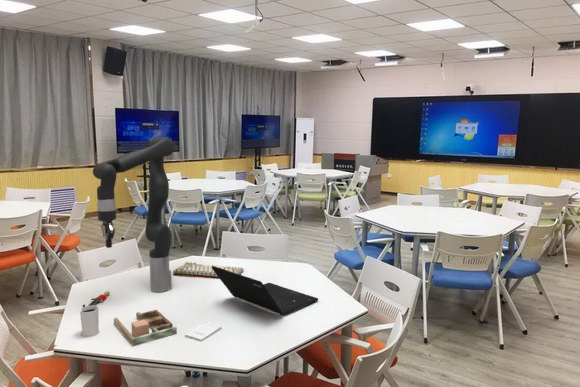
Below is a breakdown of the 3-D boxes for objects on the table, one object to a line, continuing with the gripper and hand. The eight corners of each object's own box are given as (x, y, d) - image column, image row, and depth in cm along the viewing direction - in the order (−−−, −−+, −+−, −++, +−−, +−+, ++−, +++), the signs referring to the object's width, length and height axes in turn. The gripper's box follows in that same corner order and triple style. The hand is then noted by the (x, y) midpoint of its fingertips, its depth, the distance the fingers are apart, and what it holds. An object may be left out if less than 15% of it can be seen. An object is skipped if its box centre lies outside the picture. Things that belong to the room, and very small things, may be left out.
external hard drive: (221, 330, 176) (201, 343, 165) (205, 325, 180) (184, 338, 169) (221, 326, 175) (201, 339, 165) (205, 321, 179) (184, 334, 168)
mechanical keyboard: (246, 270, 251) (245, 264, 250) (236, 281, 232) (236, 275, 232) (183, 266, 258) (183, 261, 257) (169, 277, 239) (169, 271, 238)
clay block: (144, 331, 173) (144, 319, 172) (149, 336, 169) (148, 323, 168) (131, 334, 170) (131, 322, 169) (136, 339, 166) (135, 327, 165)
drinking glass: (87, 328, 174) (85, 305, 173) (103, 329, 174) (101, 305, 172) (77, 336, 168) (75, 311, 166) (94, 337, 167) (92, 312, 166)
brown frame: (154, 313, 189) (154, 308, 189) (176, 333, 171) (176, 327, 171) (113, 324, 179) (113, 318, 179) (132, 346, 161) (132, 339, 160)
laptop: (319, 302, 205) (319, 262, 202) (260, 328, 177) (260, 282, 175) (269, 285, 227) (269, 248, 224) (210, 305, 200) (209, 264, 197)
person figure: (82, 300, 193) (104, 286, 210) (80, 308, 193) (102, 293, 211) (92, 304, 192) (114, 290, 210) (90, 312, 193) (112, 297, 211)
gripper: (120, 210, 190) (122, 249, 192) (110, 206, 200) (113, 242, 203) (102, 212, 185) (104, 252, 188) (93, 207, 195) (95, 245, 198)
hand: (108, 247), depth 195 cm, fingers closed
